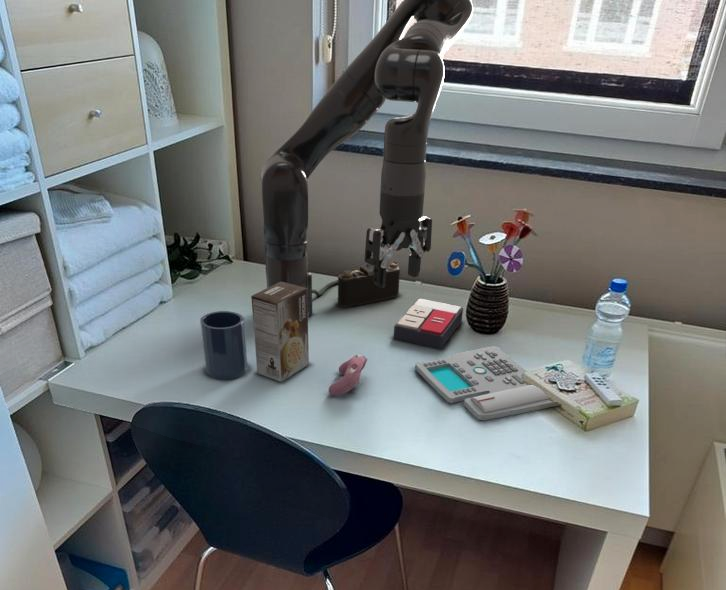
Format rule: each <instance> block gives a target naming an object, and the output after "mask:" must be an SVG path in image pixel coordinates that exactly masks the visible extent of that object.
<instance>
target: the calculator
mask: <svg viewBox="0 0 726 590" xmlns="http://www.w3.org/2000/svg"><path fill="white" fill-rule="evenodd" d="M463 313H464V308H463V307H461V306H459V305H454V304H449V303H444V302H440V301H434V300H429V299H424V298H418V299H416V300H415V302H414V303H413V304H411V306H410V307H409V308H408V310H407V311H405V313H404V314H403V315H402V316H401V318H400V319H399V320H398V321H397V322H396V323H395V324H394V326H393V339H394V340H399V341H404V342H409V343H413V344H417V345H421V346H426V347H431V348H434V349H438V350H440V349H442V348H443V347H444V346H445V344H446V343H447V341H448V340H449V339H450V337H451V336H452V334H453V333H454V332H455V330H458V328H459V327H460V325H461V324H462V322H463V321H462V320H463Z"/></svg>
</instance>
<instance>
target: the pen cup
mask: <svg viewBox="0 0 726 590" xmlns="http://www.w3.org/2000/svg"><path fill="white" fill-rule="evenodd" d="M199 321H200V322H199V323H200V331H201V339H202V348H203V357H204V358H203V359H204V365H205V370H206V371H205V372H206V374H207V375H208V376H209V377H211V378H213V379H216V380H223V381H226V380H234V379H237V378H240V377H242V376H244V375H246V374H247V372H248V354H247V342H246V328H245V327H246V326H245V318H244V317H243V315H242V314H240V313H238V312H235V311H229V310H218V311H212V312H209V313H206V314H204V315H202V317H201V318H200V320H199Z"/></svg>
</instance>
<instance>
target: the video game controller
mask: <svg viewBox="0 0 726 590" xmlns="http://www.w3.org/2000/svg"><path fill="white" fill-rule="evenodd" d="M367 361H368V358H367V357H366V356H364V355H362V354H361V355H359V353H357V354H355V355H353V356H352V357H351V358H349V359H348V360H346V361H344V362H343V363H342V364H340V365H339V367H338V373H339V374H340V375H341V376H342V377H341V378H339V380H337V381H334V382H333V383H332V384H330V386H329V387H328V393H329V395H331V396H334V397H337V396H341V395H345V394H346V393H348V392H351V390H353V389H354V387H355V386H357V387H358V386H360V385H361V383H362V380H361V379H360V378H361V375H362V373H361V372H362V371H363V370H364V369H365V367H366V364H367Z"/></svg>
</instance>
